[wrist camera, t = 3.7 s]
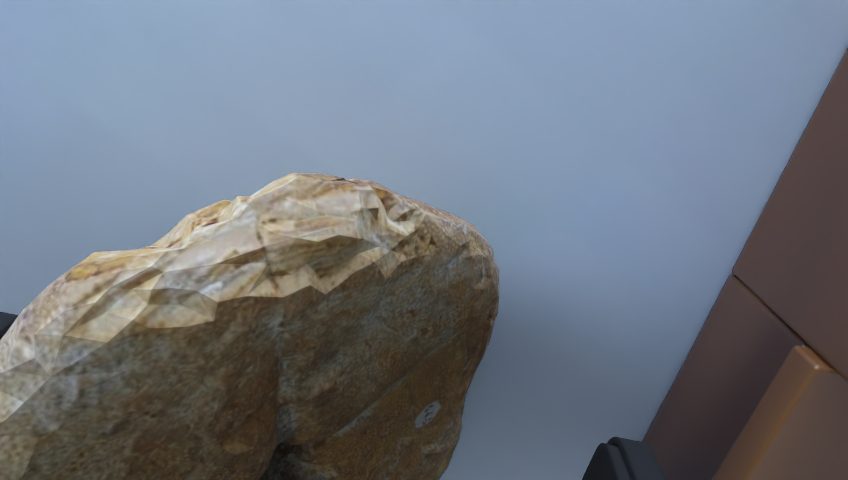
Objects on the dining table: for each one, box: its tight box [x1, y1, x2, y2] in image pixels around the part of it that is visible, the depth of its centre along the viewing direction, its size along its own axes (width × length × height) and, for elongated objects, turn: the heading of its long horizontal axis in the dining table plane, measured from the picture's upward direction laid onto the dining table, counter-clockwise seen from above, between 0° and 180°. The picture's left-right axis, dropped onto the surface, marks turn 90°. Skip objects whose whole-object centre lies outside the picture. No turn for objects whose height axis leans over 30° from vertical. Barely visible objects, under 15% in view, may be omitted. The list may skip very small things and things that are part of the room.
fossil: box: [0, 173, 499, 480], centre depth 9 cm, size 9×4×10 cm
